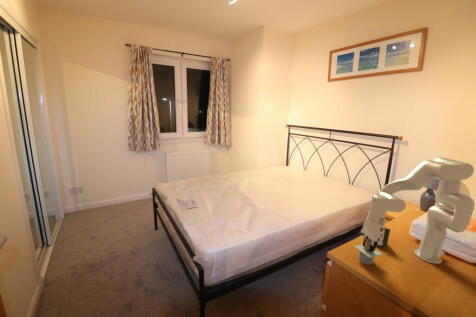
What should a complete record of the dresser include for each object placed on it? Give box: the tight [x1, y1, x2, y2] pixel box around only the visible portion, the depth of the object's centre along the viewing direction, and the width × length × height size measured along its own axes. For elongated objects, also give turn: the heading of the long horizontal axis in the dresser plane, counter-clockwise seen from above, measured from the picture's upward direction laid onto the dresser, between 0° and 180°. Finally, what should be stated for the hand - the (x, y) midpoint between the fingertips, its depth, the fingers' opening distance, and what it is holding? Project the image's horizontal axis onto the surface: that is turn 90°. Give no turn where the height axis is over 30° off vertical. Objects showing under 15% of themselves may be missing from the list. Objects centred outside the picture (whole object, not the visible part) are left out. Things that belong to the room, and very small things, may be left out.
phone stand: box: [374, 227, 391, 250], centre depth 140 cm, size 9×6×12 cm, turn 134°
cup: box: [357, 250, 375, 266], centre depth 124 cm, size 7×7×4 cm
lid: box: [353, 238, 383, 258], centre depth 123 cm, size 10×10×7 cm
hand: (368, 248), depth 123 cm, fingers closed on lid, 3 cm apart
